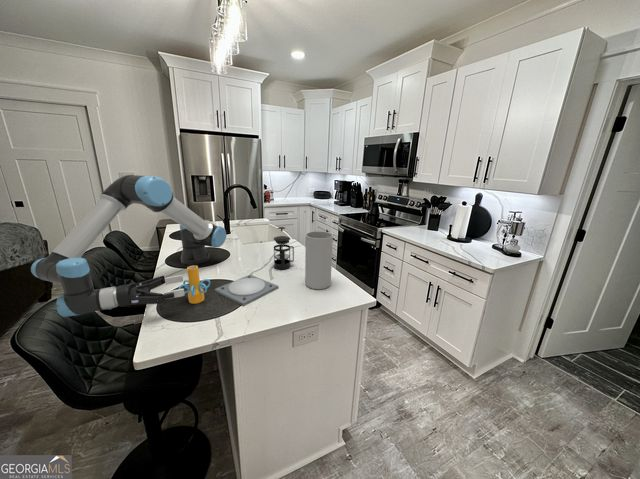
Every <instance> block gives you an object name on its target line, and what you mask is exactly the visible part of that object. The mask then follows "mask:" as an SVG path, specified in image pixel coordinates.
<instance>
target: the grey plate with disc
mask: <svg viewBox="0 0 640 479" xmlns="http://www.w3.org/2000/svg"><path fill="white" fill-rule="evenodd" d="M277 289H279V285H278V284H275V283H273V282H270V281H267V280H264V279H262V278H260V277H258V276H255V275H252V274H248V275H246V276H244V277H241V278H238V279H236V280H233V281H231V282H229V283H226V284H224V285H221V286H219V287H216V288H214V292H215V293H217V294H219V295H221V296H223V297H225V298H227V299H229V300H230V301H233V302H234V303H236V304H239V305H240V306H242V307H245V306H246V305H249V304H250V303H252V302H254V301H256V300H259V299H261V298H262V297H264V296H266V295H268V294H269V293H272V292H274V291H275V290H277Z"/></svg>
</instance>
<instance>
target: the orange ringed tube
mask: <svg viewBox="0 0 640 479" xmlns="http://www.w3.org/2000/svg"><path fill="white" fill-rule="evenodd" d="M186 270H187V271H186V272H187V278H188V279H184V280H183V282H182V284H180V285H179V286H178V289H182V288H183V287H184V289H186V290H184V294H185V295H186V294H187V297H188V302H189V304H192V305H193V304H194V305H195V304H200V303H202V302H204V300H205V293H207V292H208V288H209V287H210V286H211V280H210V279H209V278H204V279H201V280H200V272H199V266H198V265H196V264H193V265H190V266H187V267H186ZM186 282H187V283H186ZM204 282H208V284H207V285H206V284H205V283H204Z"/></svg>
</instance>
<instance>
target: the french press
mask: <svg viewBox="0 0 640 479" xmlns="http://www.w3.org/2000/svg"><path fill="white" fill-rule="evenodd" d="M277 229H278V230H280V232H281V234H280V235H278V236H275V237H273V240H274V242H275V243H276V245H273V265H274V266H273V268H274V269H275V270H277V271H285V270H289V269H291V267H292V266H291V263H293V262H294V260H295V254H294V253H295V251H294V248H295V247H294V246H292V245H289V243H290V240H291V238H290V236H284V235H283V230H285V229H286V227H284V226H279V227H277ZM283 247H285V248H283ZM291 248H292V260H291ZM288 251H289V253H288V254H287V253H285V252H288ZM276 252H279V253H278V254H275V253H276Z"/></svg>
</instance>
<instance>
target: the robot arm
mask: <svg viewBox="0 0 640 479" xmlns="http://www.w3.org/2000/svg"><path fill="white" fill-rule="evenodd" d="M99 198H100V200H99V201H97V203H95V205H94V206H93V207H92V208H90V209H89V211H88V212H87V214H85V215H84V216H83V217H82V219H81V220H80V221H79V222H78V223H77V224H76V225H75V226H74V227H73V229H72V230H70V232H69V233H68V234H67V235H66V236H65V237H64V238H63V239H62V241H60V242H59V243H58V245H57V246H56V247H55V248H54V249H53V250H52V251H51V253H49V255H48V256H46V257H42V258H39V259H37V260H35V261H34V262H33V263H32V265H31V267H30V272H31V274H32V275H33V277H35V278H38V279H40V280H41V281H44V282H45V281H47V282H50V283H54V284H57V285H60V286H61V289H62V291H63V292H62V293H63V294H61V295H60V296H58V298H57V299H56V303H55V304H56V310H57V313H58V314H59V315H60V317H64V318H65V317H72V316H80V315H84V314H88V313H90V314H91V313H93V312H94V313H95V312H98V311H104V310H112V309H114V308H117V307H118V306H119V307H126V306H130V305H132V306H136V305H161V304H164V303H165V301H166V300H169V299H170V300H171V299H175V298H181V297H184V296H185V295H186V294H184V292H185V288H181V289H179V288H178V289H173V290H169V291H163V293H160V292H153V291H152V290H154V289H156V288H158V287H161V286H163V285H164V284H165V285H172V284H177V283H183V282H184V276H183V274H180V275H174V276H168V277H165V275H160V276H157V277H154V278H151V279H148V280H144V281H141V282H136V283H135V284H134V285H135V287H134V286H133V287H132V286H131V285H130V284H123V285H118V286H111V287H109V286H108V287H104V288H103V287H102V288H99V289H95V286H94V284H93V279H92V275H91V269H90V266H89V264H88V261H87V259H86V258H84V257H82V256H83V255H84V254H85V252H87V250H88V249H89V248H90V247H91V246H92V245H93V244H94V243H95V241H96V240H97V239H98V238H99V237H100V235H101V234H102V233H103V232H104V231H105V229H106V228H107V227H108V226H109V225H110V224H111V222H112V221H113V220H114V219H115V218H116V217H117V216H118V214H119V213H120V212H121V211H126V210H127V208H128V207H129V206H131V205H133V204H138V205H142V206H143V207H146V208H147V209H149V210H150V211H152V212H153V213H162V214H163V215H165V216H166V217H167V218H169V219H171V220H172V221H173V222H175V223H177V224H178V225H179V231H180V233H179V234H180V240H181V246H182V252H181V255H180V262H181V264H183V265H190V266H194V265H200V264H203V263H206V262H207V261H209V260H210V254H209V252H208V250H207V248H206V247H212V248H221V247H222V246H223V245H224V243H225V241H226V240H227V239H226V238H227V231H226V229H225V227H223V226H221V225H216V224H214V223H213V222H212V221H210V220H208V219H207V220H206V219H203V218H202V217H201V216H199V215H198V214H197V213H195V212H194V211H192V210H191V209H190V208H189V207H188V206H186V205H185V204H184V203H182V202H181V201H180V200H178V199H177V198H176V197H175V194H174V191H173V190H172V187H171V184H170V183H168V182H167V181H166V180H165V179H163V178H162V177H160V176H159V177H158V176H155V175H139V174H138V175H137V174H127V175H123V176H121V177H119V178H117V179H116V180H114V181H113V182H112V183H111V184H109V185H108V186H107V187H106V188H105V189H104V190H103V191H102V193H100V194H99Z"/></svg>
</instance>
